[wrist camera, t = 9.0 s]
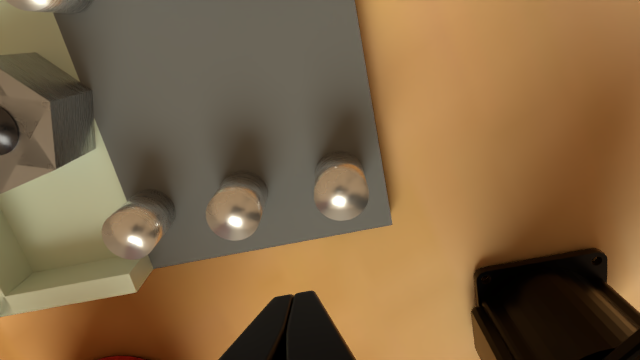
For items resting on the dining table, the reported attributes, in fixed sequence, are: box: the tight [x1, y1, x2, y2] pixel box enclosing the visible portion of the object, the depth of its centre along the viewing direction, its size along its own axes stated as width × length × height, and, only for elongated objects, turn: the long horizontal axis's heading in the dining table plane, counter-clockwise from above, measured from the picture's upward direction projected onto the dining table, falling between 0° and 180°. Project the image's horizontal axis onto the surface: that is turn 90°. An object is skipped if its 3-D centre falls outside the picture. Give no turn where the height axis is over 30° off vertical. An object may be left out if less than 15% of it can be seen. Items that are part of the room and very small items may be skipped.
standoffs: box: [5, 0, 369, 260], centre depth 17 cm, size 11×12×3 cm
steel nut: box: [0, 52, 96, 194], centre depth 17 cm, size 5×4×3 cm
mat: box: [53, 0, 392, 269], centre depth 18 cm, size 12×16×1 cm
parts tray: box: [0, 0, 153, 317], centre depth 18 cm, size 7×16×3 cm, turn 12°
